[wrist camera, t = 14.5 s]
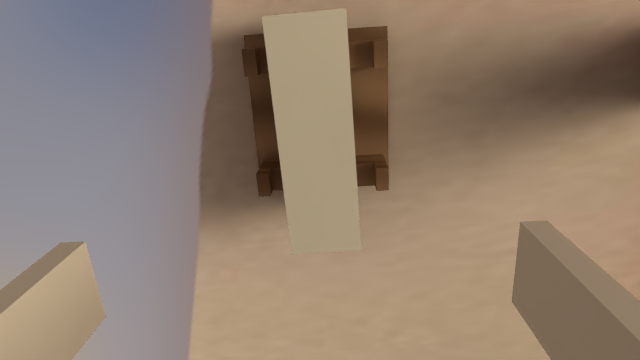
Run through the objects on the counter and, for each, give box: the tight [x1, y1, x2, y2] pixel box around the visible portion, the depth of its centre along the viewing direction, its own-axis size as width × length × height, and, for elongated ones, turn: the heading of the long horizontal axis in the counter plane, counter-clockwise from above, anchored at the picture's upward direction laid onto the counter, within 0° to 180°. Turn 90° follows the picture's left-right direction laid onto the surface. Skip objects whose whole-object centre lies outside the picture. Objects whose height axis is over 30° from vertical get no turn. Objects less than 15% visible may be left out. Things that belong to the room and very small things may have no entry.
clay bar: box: [262, 8, 361, 255], centre depth 31 cm, size 16×5×8 cm, turn 5°
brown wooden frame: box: [242, 26, 389, 196], centre depth 36 cm, size 14×12×5 cm
